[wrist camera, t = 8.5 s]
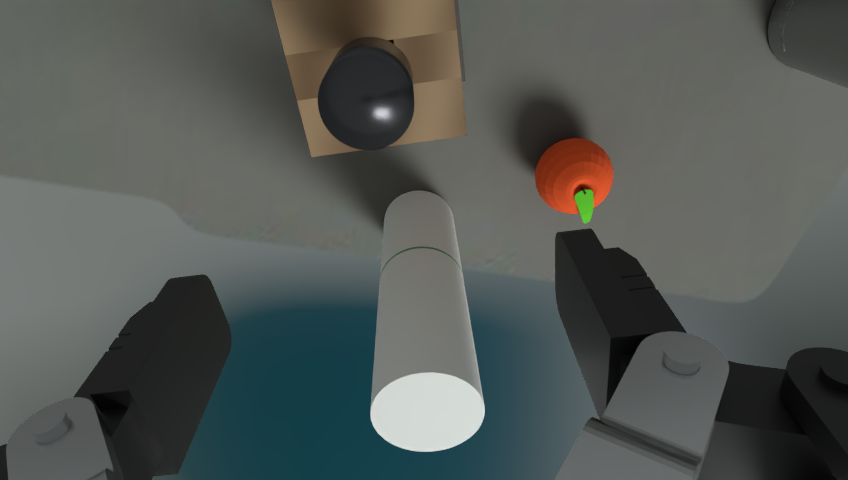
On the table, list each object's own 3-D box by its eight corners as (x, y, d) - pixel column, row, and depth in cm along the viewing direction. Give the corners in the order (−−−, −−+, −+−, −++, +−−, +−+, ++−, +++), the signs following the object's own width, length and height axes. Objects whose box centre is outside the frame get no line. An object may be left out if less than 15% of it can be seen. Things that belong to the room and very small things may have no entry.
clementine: (605, 191, 53) (631, 225, 47) (538, 210, 54) (555, 247, 48) (593, 117, 49) (620, 144, 43) (521, 140, 50) (537, 170, 44)
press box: (449, -80, 41) (478, -84, 25) (463, 76, 47) (494, 156, 31) (297, -56, 41) (227, -44, 25) (331, 95, 48) (292, 184, 31)
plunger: (422, -37, 41) (439, 0, 20) (433, 57, 44) (458, 170, 24) (332, -23, 41) (259, 28, 20) (351, 69, 44) (304, 191, 24)
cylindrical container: (389, 254, 56) (379, 456, 35) (379, 194, 53) (361, 378, 31) (455, 247, 56) (487, 446, 35) (450, 186, 52) (482, 366, 31)
